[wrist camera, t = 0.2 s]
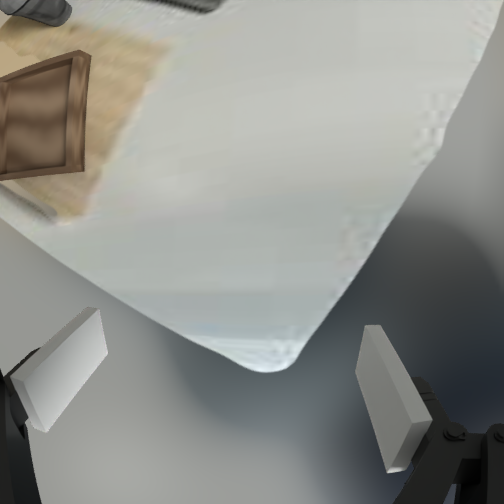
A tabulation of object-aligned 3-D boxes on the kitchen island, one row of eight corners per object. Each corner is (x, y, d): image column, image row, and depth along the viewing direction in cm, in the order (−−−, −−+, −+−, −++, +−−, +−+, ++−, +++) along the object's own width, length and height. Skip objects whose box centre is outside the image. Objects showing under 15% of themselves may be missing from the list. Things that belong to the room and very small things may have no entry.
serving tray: (12, 80, 37) (-1, 78, 34) (91, 55, 36) (79, 49, 33) (7, 179, 42) (-7, 181, 38) (84, 171, 41) (71, 172, 37)
